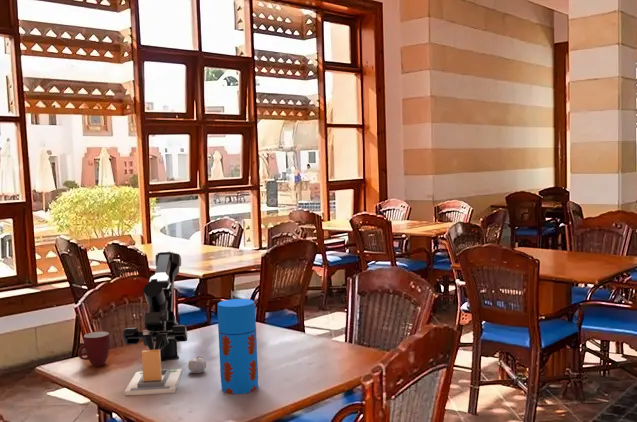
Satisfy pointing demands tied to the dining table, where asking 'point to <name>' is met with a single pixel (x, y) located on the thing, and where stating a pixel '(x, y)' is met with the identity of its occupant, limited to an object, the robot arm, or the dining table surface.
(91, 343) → the mug
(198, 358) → the garlic
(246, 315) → the thermos
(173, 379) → the panel
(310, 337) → the dining table surface
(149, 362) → the orange upright block
